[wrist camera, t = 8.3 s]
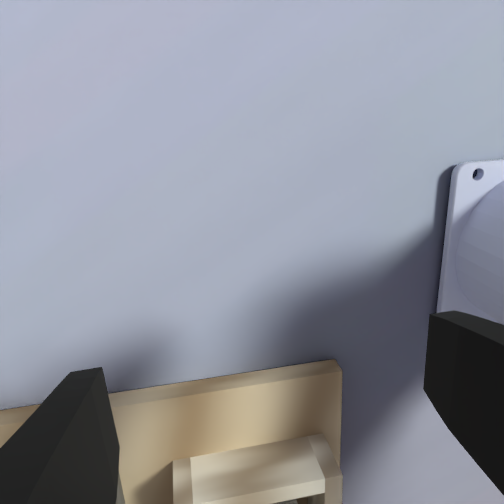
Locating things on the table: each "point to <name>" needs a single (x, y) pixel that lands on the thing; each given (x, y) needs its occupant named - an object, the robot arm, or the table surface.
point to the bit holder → (227, 438)
